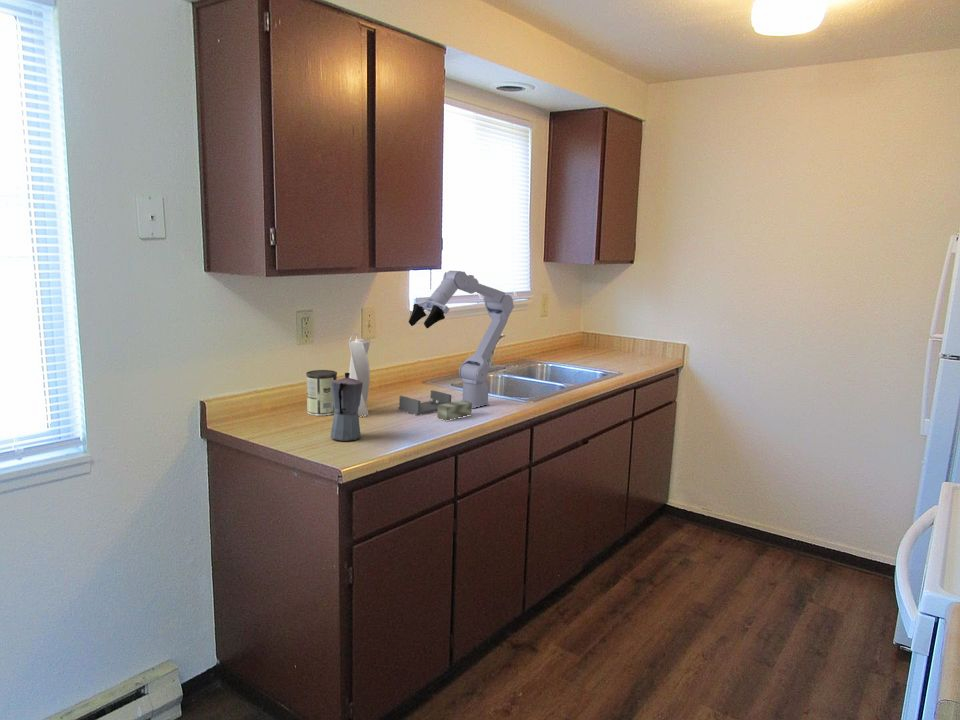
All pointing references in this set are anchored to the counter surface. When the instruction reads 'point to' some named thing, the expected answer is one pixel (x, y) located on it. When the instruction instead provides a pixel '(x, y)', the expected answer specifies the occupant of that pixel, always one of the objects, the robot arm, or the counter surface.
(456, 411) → the olive green rectangular block
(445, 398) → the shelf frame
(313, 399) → the coffee can
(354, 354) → the skyscraper
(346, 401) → the moka pot
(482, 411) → the counter surface
